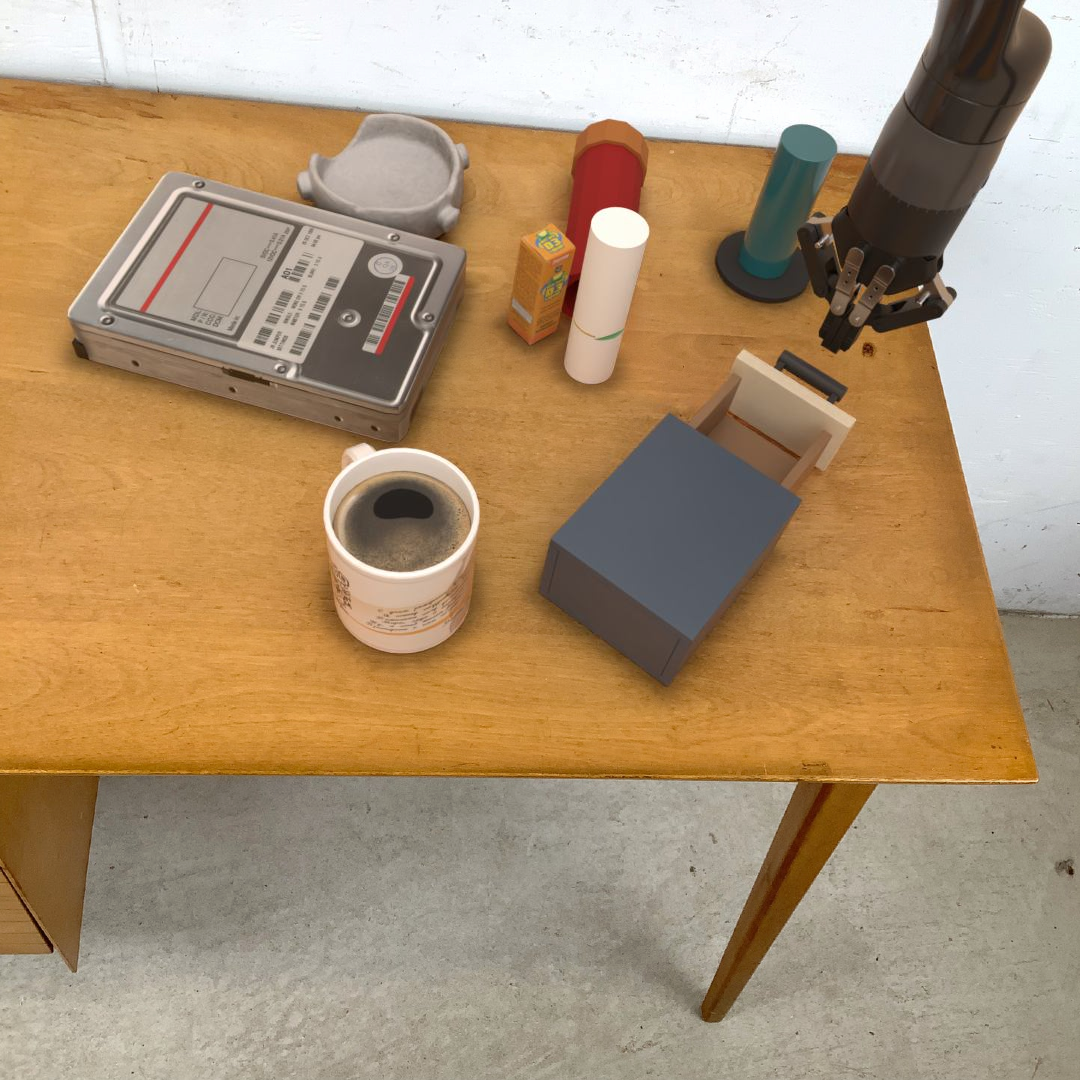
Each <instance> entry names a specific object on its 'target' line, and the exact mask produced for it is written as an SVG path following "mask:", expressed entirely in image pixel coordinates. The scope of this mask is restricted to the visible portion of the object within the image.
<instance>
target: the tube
mask: <svg viewBox="0 0 1080 1080" xmlns="http://www.w3.org/2000/svg"><path fill="white" fill-rule="evenodd" d="M649 236H650V227H649V224H648V222H647V221H646V219H645V218H644V217H643V216H642V215H640V214H637V213H636V212H634V211H632V210H629V209H626V208H621V207H611V208H606V209H603V210H601V211H599V212H598V213H596V214H595V215H594V217H593V219H592V221H591V226H590V231H589V237H588V242H587V247H586V252H585V257H584V262H583V267H582V272H581V277H580V282H579V287H578V292H577V297H576V303H575V308H574V313H573V318H572V319H571V324H570V329H569V334H568V337H567V338H568V339H567V343H566V349H565V354H564V359H563V366H564V369H565V371H566V373H567V375H568V376H569V377H570V378H572V379H574V380H575V381H577V382H579V383H581V384H586V385H597V384H602V383H604V382H606V381H607V380H608V379H610V377H611V376H612V375H613V372H614V370H615V366H616V362H617V357H618V354H619V351H620V346H621V344H622V343H621V342H622V339H623V335H624V331H625V327H626V324H627V320H628V316H629V312H630V308H631V304H632V300H633V297H634V293H635V289H636V285H637V283H638V277H639V274H640V270H641V268H642V267H641V266H642V262H643V259H644V255H645V252H646V247H647V243H648V239H649Z"/></svg>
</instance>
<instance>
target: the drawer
mask: <svg viewBox="0 0 1080 1080" xmlns="http://www.w3.org/2000/svg"><path fill="white" fill-rule="evenodd" d="M783 370H785V371H786V372H788V373H790V374H791V375H793V376H794V377H796V378H797V379H799V380H801V381H803V382H804V383H806V384H807V385H809V386H811V387H812V388H814V389H815V390H817V391H819V392H820V393H821V394H823V395H824V396H826V397H827V399H825V398H823V397H821V396H820V395H818V394H817V393H815V392H814V391H812V390H811V389H809V388H807V387H806V386H804V385H802V384H801V383H799V381H798V382H797V381H796V380H794V379H793V378H791V377H790V376H788V375H787V374H785V373H783V372H782V371H783ZM848 391H849V387H848V386H846V385H844V384H843V383H841V382H840V381H838V380H837V379H835V378H833V377H832V376H830V375H829V374H827V373H825V372H823V371H822V370H821V369H819V368H817V367H815V366H814V365H812V364H811V363H809V362H807V361H806V360H804V359H802V357H799V356H798V355H796V354H794V353H793V352H791V351H789V350H788V349H784V350H783V351H782V352H781V353H780V354H779V356H778V358H777V360H776V362H775V364H774V366H772V365H771V364H769V363H767V362H766V361H764V360H763V359H761V358H759V357H757V356H756V355H754V354H753V353H751V352H749V351H748V350H746V349H744V348H743V349H742V350H741V351H740V352H739V353H738V354H737V355H736V356H735V359H734V360H733V364H732V366H731V369H730V371H729V373H728V376H727V378H726V381H724V383H723V384H722V385H721V386H720V387H719V388H718V390H716V392H714V394H713V395H712V396H711V397H710V398H709V399H708V400H707V402H706V403H705V404H704V405H703V406H702V407H701V408H700V409H699V410H698V412H697V413H695V415H694V416H693V417H692V418H691V419H690V420H689V421H688V422H687V424H688V425H689V426H691V427H693V428H694V429H696V430H697V431H699V432H700V433H702V434H703V435H705V436H706V437H708V438H709V439H711V440H712V441H714V442H715V443H717V444H718V445H720V446H722V447H723V448H725V449H726V450H728V451H729V452H731V453H732V454H734V455H735V456H737V457H738V458H740V459H741V460H743V461H744V462H746V463H747V464H749V465H751V466H752V467H754V468H755V469H757V470H758V471H760V472H761V473H763V474H764V475H766V476H767V477H769V478H770V479H772V480H773V481H775V482H776V483H778V484H779V485H781V486H783V487H784V488H786V489H787V490H789V491H790V492H792V493H793V494H795V495H796V492H797V491H798V490H800V488H801V487H802V485H803V484H804V483H805V481H806V480H807V479H808V478H809V476H810V475H811V473H812V471H813V469H814V468H817V469H819V470H820V471H822V472H825V471H826V469H827V468H828V467H829V465H830V464H831V463H832V462H833V460H834V459H835V456H836V455H837V453H838V452H839V450H840V448H841V447H842V445H843V443H844V442H845V440H846V438H847V436H848V435H849V433H850V432H851V430H852V428H853V426H854V425H855V423H856V422H857V418H855V417H854V416H852V415H850V413H847V412H846V411H844V410H842V409H841V408H840V407H838V406H836V405H835V403H840V402H841V401H842V400H843V398H844V397H845V395H846V394H847V393H848ZM728 412H730V413H731V414H733V415H735V416H736V417H738V418H739V419H741V420H742V421H744V422H745V423H747V424H749V425H750V426H752V427H754V428H755V429H757V430H758V431H759V432H761V433H762V434H764V435H766V436H767V437H769V438H771V439H772V440H773V441H775V442H776V443H778V444H780V445H781V446H783V447H785V448H786V449H787V450H789V451H791V452H792V453H794V454H795V455H796V456H798V457H800V459H797V458H795V457H794V456H793V455H791V454H790V453H788V452H786V451H785V450H783V449H782V448H780V447H779V446H777V445H776V444H774V443H773V442H771V441H769V440H767V438H765V437H763V436H761V435H760V434H758V433H757V432H755V431H754V430H752V429H751V428H749V427H747V426H746V425H744V424H743V423H742V422H740V421H738V420H737V419H736V418H734V417H732V416H730V415H729V414H728Z"/></svg>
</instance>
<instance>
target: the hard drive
mask: <svg viewBox="0 0 1080 1080" xmlns="http://www.w3.org/2000/svg"><path fill="white" fill-rule="evenodd" d="M467 260H468V254H467V250H466V249H465V248H462V247H460V246H459V245H457V244H453V243H449V242H445V241H441V240H437V239H435V238H434V239H430V238H427V237H423V236H419V235H415V234H412V233H408V232H404V231H400V230H397V229H393V228H389V227H385V226H382V225H378V224H374V223H371V222H367V221H363V220H359V219H356V218H352V217H348V216H344V215H341V214H337V213H333V212H329V211H326V210H322V209H318V208H315V206H310V205H306V204H303V203H299V202H297V201H292V200H287V199H284V198H280V197H276V196H272V195H270V194H265V193H263V192H258V191H255V190H250V189H247V188H243V187H239V186H235V185H231V184H229V183H224V182H221V181H217V180H214V179H209V178H205V177H201V176H198V175H194V174H190V173H187V172H184V171H174V170H173V171H172V170H169V171H168V172H167V173H165V174H163V176H161V178H160V179H159V181H158V182H157V184H156V185H155V186H154V187H153V189H152V191H150V193H149V195H148V196H147V197H146V199H145V200H144V202H143V203H142V204H141V206H140V207H139V209H138V210H137V211H136V213H135V214H134V216H133V217H132V219H131V220H130V222H129V223H128V225H127V226H126V227H125V228H124V230H123V232H122V233H121V234H120V236H119V237H118V238H117V240H116V241H115V242H114V244H113V245H112V246H111V248H110V249H109V251H108V252H107V254H106V255H105V257H104V258H103V259H102V261H101V263H99V265H98V267H97V268H96V269H95V271H94V272H93V273H92V274H91V276H90V278H89V279H88V281H87V282H86V283H85V285H84V286H83V288H82V289H81V290H80V292H79V293H78V295H77V296H76V298H75V299H74V300H73V301H72V303H71V304H70V306H68V307H69V308H68V310H67V319H68V322H69V324H70V327H71V329H72V331H73V334H74V338H73V340H72V341H71V345H72V347H73V349H74V353H75V354H76V357H78V358H81V359H85V360H88V361H89V360H90V361H92V362H96V363H100V364H102V365H106V366H110V367H114V368H118V369H121V370H124V371H128V372H132V373H136V374H140V375H143V376H145V377H146V376H147V377H151V378H153V379H158V380H161V381H163V382H164V381H165V382H169V383H172V384H176V385H180V386H182V387H187V388H191V389H193V390H198V391H201V392H204V393H208V394H212V395H215V396H220V397H223V398H226V399H230V400H233V401H237V402H240V403H245V404H248V405H252V406H256V407H259V408H263V409H267V410H270V411H273V412H278V413H281V414H285V415H288V416H292V417H295V418H299V419H302V420H306V421H310V422H314V423H317V424H321V425H324V426H328V427H332V428H335V429H339V430H343V431H345V432H350V433H353V434H357V435H361V436H365V437H368V438H372V439H375V440H379V441H382V442H386V443H400V442H401V441H402V440H403V439H404V438H405V437H406V436H407V434H408V432H409V429H410V428H411V427H410V426H411V424H412V422H413V419H414V417H415V415H416V412H417V409H418V407H419V406H420V403H421V401H422V398H423V395H424V393H425V391H426V389H427V386H428V383H429V380H430V379H431V377H432V374H433V371H434V369H435V367H436V364H437V362H438V359H439V357H440V355H441V352H442V349H443V347H444V345H445V343H446V340H447V338H448V335H449V333H450V331H451V328H452V326H453V324H454V320H455V319H456V316H457V314H458V312H459V309H460V307H461V304H462V302H463V300H464V297H465V293H466V292H465V290H466V277H467V276H466V275H467V264H468V263H467Z"/></svg>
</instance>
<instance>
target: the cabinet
mask: <svg viewBox="0 0 1080 1080" xmlns="http://www.w3.org/2000/svg"><path fill="white" fill-rule="evenodd" d="M802 502H803V499H802V498H801V497H799V496H798V495H797V494H796V493H795V494H793V493H792V492H790V491H789V490H787V489H786V488H784V487H783V486H781V485H779V484H778V483H776V482H775V481H773V480H772V479H770V478H769V477H767V476H766V475H764V474H763V473H761V472H760V471H758V470H757V469H755V468H754V467H752V466H751V465H749V464H747V463H746V462H744V461H743V460H741V459H740V458H738V457H737V456H735V455H734V454H732V453H731V452H729V451H728V450H726V449H725V448H723V447H722V446H720V445H718V444H717V443H715V442H714V441H712V440H711V439H709V438H708V437H706V436H705V435H703V434H702V433H700V432H699V431H697V430H696V429H694V428H693V427H691V426H689V425H688V423H686V422H685V421H683V420H682V419H681V418H680V417H679V418H678V416H676V415H674V414H673V413H671V412H668V413H667V414H666V416H664V418H662V420H660V421H659V423H658V424H657V425H656V426H655V427H654V428H653V429H652V430H651V431H650V432H649V433H648V434H647V436H645V438H643V440H642V441H640V443H639V444H638V445H637V446H636V447H635V448H634V449H633V450H632V451H631V453H629V455H628V456H627V457H626V458H625V459H624V460H623V461H622V462H621V463H620V464H619V465H618V466H617V467H616V468H615V470H613V472H612V473H611V474H610V475H609V476H608V477H607V478H606V479H604V481H603V482H602V483H601V484H600V485H599V486H598V487H597V489H596V490H594V492H593V493H591V495H590V496H589V497H588V498H587V499H586V500H585V501H584V502H583V503H582V505H581V506H579V508H578V509H576V511H575V512H574V513H573V514H572V515H571V516H570V517H569V518H568V519H567V521H565V523H564V524H563V525H562V526H560V528H559V529H558V530H557V531H556V532H555V533H554V534H553V535H552V536H551V537H550V539H549V543H548V547H547V552H546V555H545V556H546V557H545V561H544V567H543V571H542V573H541V579H540V583H539V587H538V593H539V594H540V595H542V596H543V597H544V598H546V599H547V600H548V601H549V602H551V603H552V604H554V605H555V606H556V607H558V608H559V609H561V610H562V611H563V612H564V613H566V614H567V615H569V616H570V617H571V618H573V619H574V620H576V621H577V622H578V623H580V625H582V626H583V627H585V628H586V629H588V630H589V631H591V633H593V634H594V635H595V636H597V637H599V639H601V640H602V641H604V642H605V643H607V644H608V645H610V646H611V647H612V648H613V649H615V650H616V651H617V652H619V653H620V654H622V655H623V656H624V657H626V658H627V659H628V660H630V661H631V662H632V663H634V664H635V665H636V666H638V667H639V668H641V669H642V670H644V671H645V672H646V673H647V674H649V676H651V677H653V678H654V679H655V680H657V681H658V682H659V683H661V684H662V685H663V686H665V687H666V688H668V687H669V686H670V684H672V682H673V681H674V679H675V678H676V677H677V676H678V674H679V673H680V672H681V670H682V669H683V668H684V667H685V665H686V664H687V663H688V661H689V660H690V658H692V656H693V655H694V654H695V652H696V651H697V650H698V648H699V647H700V646H701V644H703V642H704V640H705V639H706V638H707V637H708V636H709V634H710V633H711V632H712V630H713V629H714V627H715V626H716V625H717V624H718V623H719V622H720V620H721V619H722V617H723V616H724V615H725V613H727V611H728V610H729V609H730V607H731V606H732V604H733V603H734V602H735V601H736V599H737V598H738V597H739V595H740V594H741V593H742V592H743V590H744V589H745V588H746V586H747V585H748V584H749V582H750V581H751V580H752V579H753V577H754V576H755V574H756V573H757V572H758V571H759V570H760V568H762V566H763V564H764V563H765V562H766V561H767V559H768V558H769V556H771V554H772V552H773V551H774V549H775V547H776V546H777V544H778V542H779V541H780V540H781V537H782V535H783V534H784V532H785V530H787V527H788V525H789V524H790V522H791V521H792V519H793V518H794V516H795V514H796V513H797V511H798V510H799V507H800V506H801V504H802Z"/></svg>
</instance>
